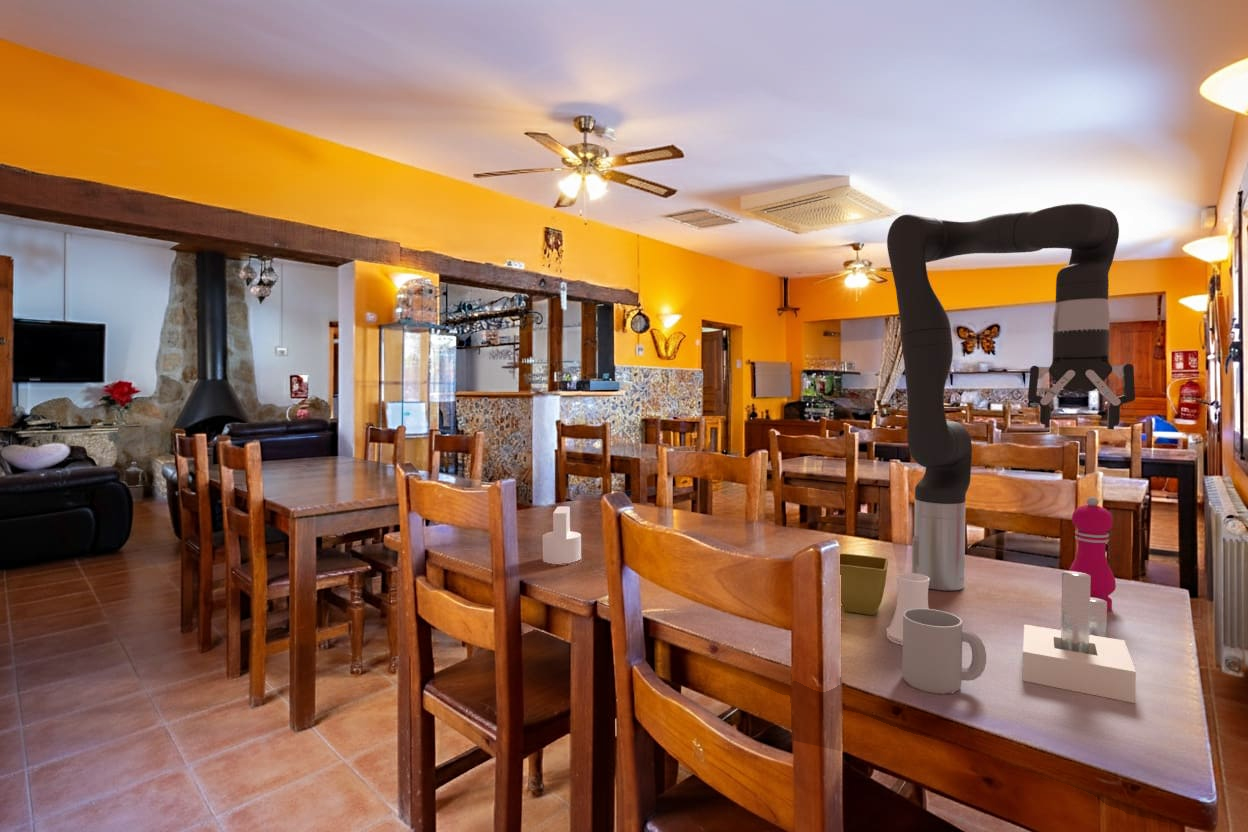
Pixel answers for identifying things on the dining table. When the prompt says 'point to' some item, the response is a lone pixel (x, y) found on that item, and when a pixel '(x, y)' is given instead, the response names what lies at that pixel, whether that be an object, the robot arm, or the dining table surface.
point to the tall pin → (1075, 611)
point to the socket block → (1079, 665)
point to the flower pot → (862, 582)
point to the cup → (938, 651)
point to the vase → (908, 601)
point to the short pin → (1098, 617)
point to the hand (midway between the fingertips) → (1078, 428)
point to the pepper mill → (1094, 548)
